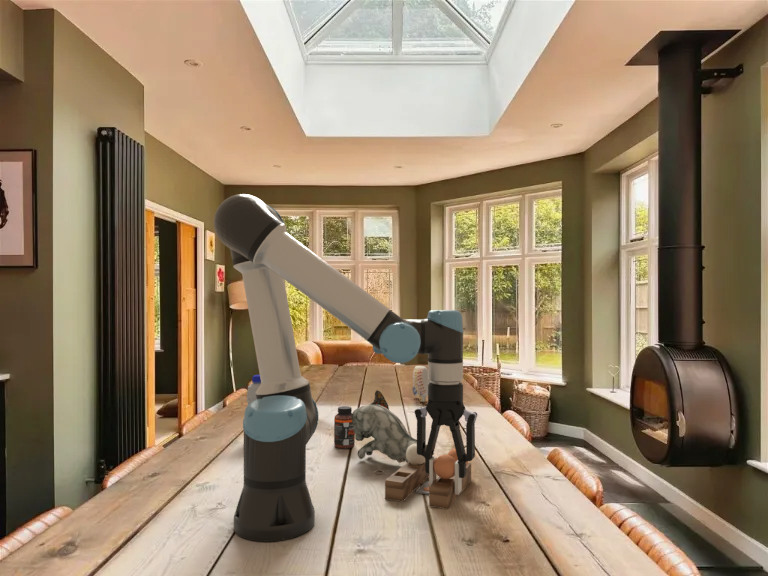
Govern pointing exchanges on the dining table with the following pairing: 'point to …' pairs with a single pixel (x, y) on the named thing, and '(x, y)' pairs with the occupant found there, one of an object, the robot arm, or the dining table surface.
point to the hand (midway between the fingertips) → (445, 490)
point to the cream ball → (414, 455)
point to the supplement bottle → (344, 428)
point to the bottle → (253, 388)
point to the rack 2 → (446, 490)
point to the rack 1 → (405, 481)
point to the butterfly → (380, 400)
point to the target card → (423, 488)
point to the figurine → (381, 432)
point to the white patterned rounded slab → (420, 382)
